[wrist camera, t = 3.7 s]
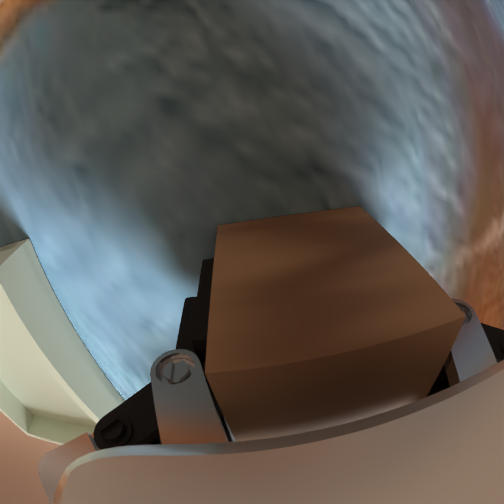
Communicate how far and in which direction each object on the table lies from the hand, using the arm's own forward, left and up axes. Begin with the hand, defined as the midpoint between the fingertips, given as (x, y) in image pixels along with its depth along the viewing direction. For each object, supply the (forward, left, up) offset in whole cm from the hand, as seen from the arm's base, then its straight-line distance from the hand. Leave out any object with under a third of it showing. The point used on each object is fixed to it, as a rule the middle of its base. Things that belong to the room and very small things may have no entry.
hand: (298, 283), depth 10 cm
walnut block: (0, 0, -1) cm, 1 cm away
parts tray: (+17, +4, 0) cm, 17 cm away
